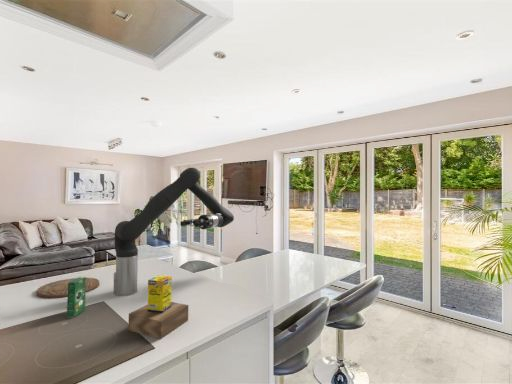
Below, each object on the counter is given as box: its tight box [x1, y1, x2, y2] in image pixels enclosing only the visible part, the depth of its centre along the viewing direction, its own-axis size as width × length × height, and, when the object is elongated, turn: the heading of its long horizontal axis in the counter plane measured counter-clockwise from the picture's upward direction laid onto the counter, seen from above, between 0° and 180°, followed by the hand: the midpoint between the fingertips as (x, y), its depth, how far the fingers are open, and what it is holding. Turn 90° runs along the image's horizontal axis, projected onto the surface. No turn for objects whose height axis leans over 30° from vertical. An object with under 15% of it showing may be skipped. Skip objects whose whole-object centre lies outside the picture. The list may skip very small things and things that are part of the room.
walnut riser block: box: [127, 301, 189, 340], centre depth 95 cm, size 14×14×6 cm
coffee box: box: [66, 276, 87, 319], centre depth 104 cm, size 8×3×13 cm, turn 6°
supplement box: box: [147, 275, 172, 313], centre depth 96 cm, size 6×6×11 cm
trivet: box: [36, 277, 100, 299], centre depth 131 cm, size 25×25×2 cm
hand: (188, 224), depth 128 cm, fingers open, 8 cm apart
